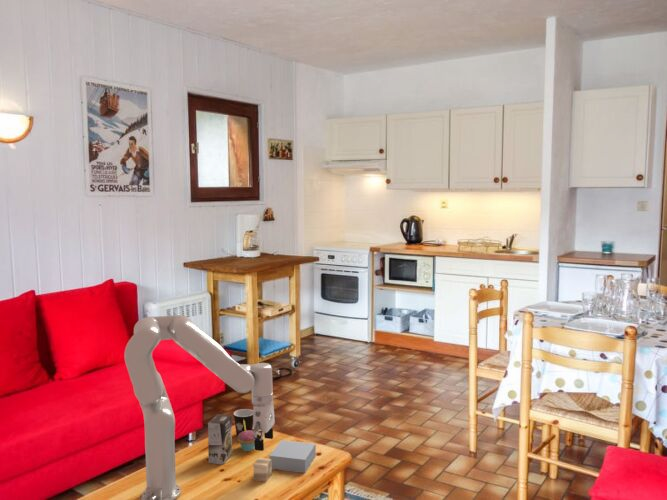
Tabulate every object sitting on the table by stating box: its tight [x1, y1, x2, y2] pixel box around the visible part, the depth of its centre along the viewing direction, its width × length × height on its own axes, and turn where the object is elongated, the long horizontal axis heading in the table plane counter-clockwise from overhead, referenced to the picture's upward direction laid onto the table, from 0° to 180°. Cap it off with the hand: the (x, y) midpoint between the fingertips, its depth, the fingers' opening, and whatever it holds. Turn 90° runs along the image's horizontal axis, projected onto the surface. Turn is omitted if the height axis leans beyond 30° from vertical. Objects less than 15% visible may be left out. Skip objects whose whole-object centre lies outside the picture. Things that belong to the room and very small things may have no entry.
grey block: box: [268, 439, 317, 474], centre depth 224 cm, size 14×14×5 cm
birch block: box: [253, 457, 273, 482], centre depth 212 cm, size 5×5×6 cm
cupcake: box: [236, 419, 255, 452], centre depth 235 cm, size 9×8×12 cm
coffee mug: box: [233, 408, 254, 437], centre depth 246 cm, size 12×9×10 cm
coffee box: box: [207, 413, 233, 465], centre depth 226 cm, size 9×6×16 cm
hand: (264, 444), depth 211 cm, fingers open, 9 cm apart
